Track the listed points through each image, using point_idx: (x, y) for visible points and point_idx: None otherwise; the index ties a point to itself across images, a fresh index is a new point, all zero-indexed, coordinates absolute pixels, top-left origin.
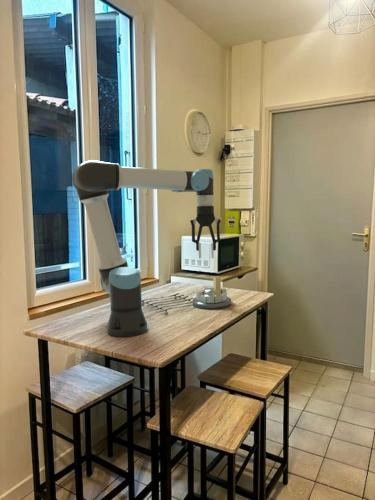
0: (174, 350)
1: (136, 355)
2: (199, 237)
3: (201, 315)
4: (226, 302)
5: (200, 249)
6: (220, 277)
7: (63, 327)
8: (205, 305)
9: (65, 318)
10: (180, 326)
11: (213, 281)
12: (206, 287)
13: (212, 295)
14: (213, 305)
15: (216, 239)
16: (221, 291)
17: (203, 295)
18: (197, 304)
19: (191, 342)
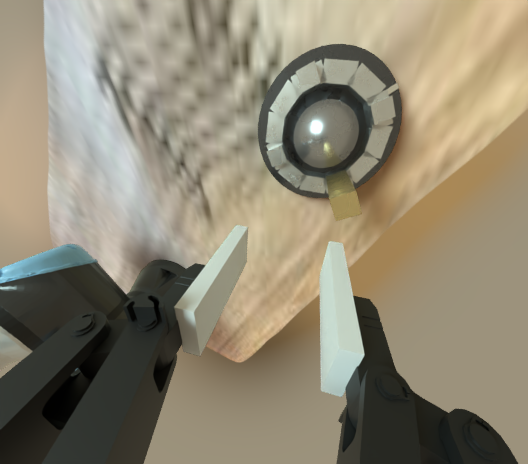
0: (249, 347)
1: (212, 347)
2: (145, 444)
3: (285, 233)
4: (367, 173)
5: (224, 302)
6: (361, 213)
7: None
8: (297, 192)
9: (49, 215)
10: (247, 283)
11: (328, 192)
12: (308, 72)
13: (321, 178)
14: (319, 197)
15: (425, 459)
16: (370, 116)
17: (290, 175)
18: (274, 176)
19: (268, 335)
